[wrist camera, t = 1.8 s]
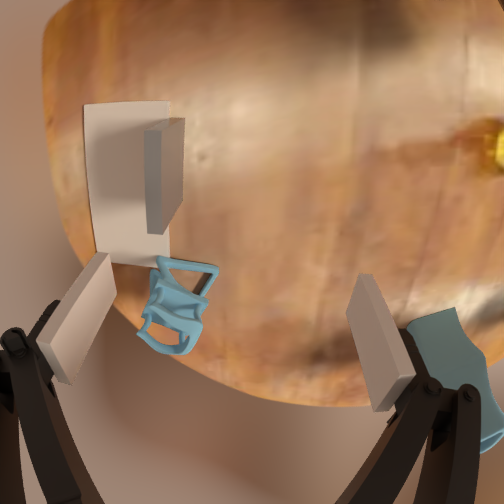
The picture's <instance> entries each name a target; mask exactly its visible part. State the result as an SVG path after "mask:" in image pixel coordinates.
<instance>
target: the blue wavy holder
mask: <svg viewBox="0 0 504 504" xmlns="http://www.w3.org/2000/svg"><path fill="white" fill-rule="evenodd" d="M407 331H408V332H409V333H410V334H411V335H412V336H413V338H414V340H415V343H416V346H417V347H418V349H419V353H420V354H421V356H422V358H423V361H424V363H425V365H426V368H427V370H428V372H429V375H430V377H433V378H436V379H437V380H438V381H440V383H441V384H442V385H443V387H444V388H449V389H454V390H458V389H459V388H460V386H461V385H463V384H465V383H466V384H471V385H473V386H475V387H476V388H477V389H478V391H479V392H480V396H481V445H480V454H481V453H483V452H485V451H487V450H488V449H490V448H492V447H493V446H494V445H495V444H496V443H497V442H498V441H499V440H500V439H501V438H502V437H503V436H504V413H503V412H502V411H501V409H500V408H499V406H498V404H497V403H496V401H495V399H494V397H493V394H492V391H491V388H490V384H489V380H488V373H487V366H486V358H485V356H484V354H483V352H482V351H480V350H479V349H478V348H477V347H476V346H475V345H474V344H473V343H472V342H471V341H470V339H469V338H468V337H467V336H466V334H465V333H464V331H463V329H462V327H461V325H460V322H459V319H458V316H457V313H456V309H455V307H454V308H451V309H448V310H444V311H441V312H438V313H435V314H431V315H428V316H424V317H421V318H418V319H415V320H413V321H412V322H411V323H410V324H409V325H408V326H407Z"/></svg>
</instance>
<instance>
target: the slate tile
mask: <svg viewBox="0 0 504 504" xmlns="http://www.w3.org/2000/svg"><path fill="white" fill-rule="evenodd" d="M184 132H185V118H170V119H167V120H165V121H163V122H161V123H159V124H156V125H154V126H152V127H150V128H148V129H146V130H144V178H145V204H146V222H147V234H157V235H163V234H164V232H165V230H166V228H167V227H168V225H169V223H170V221H171V220H172V218H173V216H174V214H175V213H176V211H177V209H178V207H179V206H180V204H181V202H182V201H183V159H184Z"/></svg>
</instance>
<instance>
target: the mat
mask: <svg viewBox="0 0 504 504" xmlns="http://www.w3.org/2000/svg"><path fill="white" fill-rule="evenodd" d="M167 119H170V101H129V102H111V103H98V104H87V105H84V133H85V153H86V168H87V179H88V190H89V199H90V207H91V215H92V222H93V229H94V235H95V241H96V247H97V252H103V253H109V255H110V261H111V263H120V264H129V265H137V266H146V267H155V268H158V266H157V264H156V258H157V256H163V257H167V258H170V241H169V225H168V227H167V228H166V230H165V232H164V234H163V235H157V234H147V222H146V204H145V178H144V130H146V129H148V128H150V127H152V126H154V125H156V124H159V123H161V122H163V121H165V120H167ZM168 269H170V268H168Z"/></svg>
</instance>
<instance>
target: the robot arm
mask: <svg viewBox="0 0 504 504" xmlns="http://www.w3.org/2000/svg"><path fill="white" fill-rule="evenodd" d="M498 1H499V3H500V5H501V7H502V9H503V11H504V0H498ZM116 295H117V291H116V286H115V281H114V276H113V271H112V266H111V261H110V255H109V253H103V252H96V254H95V255H94V256H93V258H92V259H91V260H90V262H89V263H88V264H87V266H86V267H85V268H84V270H83V271H82V272H81V274H80V275H79V276H78V278H77V279H76V281H75V282H74V283H73V285H72V286H71V287H70V289H69V290H68V292H67V293H66V295H65V296H64V297H63V299H62V300H61V301H60V300H55V301H53V302H52V303H51V304H50V305H48V306H47V308H46V309H45V311H44V312H43V315H41V317H40V318H39V321H37V323H36V324H35V326H34V327H33V329H32V330H31V332H30V333H29V335H28V336H27V337H26V335H25V333H24V331H23V330H22V329H21V328H17V327H14V328H10V329H8V330H7V331H5V332H4V333H3V335H2V336H1V338H0V344H1V346H2V347H3V349H4V350H0V504H26V500H25V493H24V487H23V479H22V471H21V461H20V448H19V423H18V422H19V420H20V424H21V428H22V431H23V435H24V439H25V442H26V446H27V449H28V452H29V455H30V458H31V461H32V464H33V467H34V470H35V473H36V475H37V478H38V481H39V483H40V486H41V489H42V491H43V493H44V496H45V498H46V501H47V504H105V503H104V502H103V500H102V498H101V496H100V494H99V493H98V491H97V489H96V487H95V485H94V483H93V481H92V479H91V477H90V475H89V473H88V471H87V469H86V467H85V465H84V463H83V461H82V458H81V456H80V454H79V452H78V450H77V447H76V445H75V443H74V440H73V438H72V435H71V433H70V430H69V428H68V425H67V423H66V420H65V418H64V415H63V412H62V409H61V406H60V403H59V400H58V398H57V394H56V391H55V388H54V385H53V383H52V381H51V379H52V377H53V375H55V376H56V378H57V380H58V381H59V382H62V383H65V384H68V385H72V384H73V382H74V380H75V378H76V375H77V373H78V371H79V369H80V366H81V364H82V362H83V360H84V358H85V356H86V354H87V352H88V350H89V348H90V345H91V344H92V341H93V339H94V337H95V335H96V333H97V331H98V329H99V327H100V325H101V324H102V322H103V319H104V318H105V316H106V314H107V312H108V310H109V308H110V306H111V304H112V303H113V301H114V299H115V297H116ZM346 315H347V319H348V322H349V325H350V328H351V332H352V335H353V339H354V342H355V345H356V349H357V352H358V356H359V359H360V363H361V367H362V370H363V374H364V378H365V381H366V385H367V389H368V393H369V397H370V401H371V405H372V408H373V412H384V411H389V410H390V409H391V407H392V406H393V405H394V404H395V408H396V412H395V413H394V414H393V415H392V417H391V418H390V419H389V420H388V421H387V423H388V425H387V427H386V428H385V430H384V432H383V434H382V435H381V437H380V439H379V440H378V442H377V443H376V445H375V447H374V448H373V450H372V451H371V453H370V455H369V456H368V458H367V459H366V461H365V462H364V464H363V465H362V467H361V468H360V470H359V471H358V473H357V474H356V475H355V477H354V478H353V480H352V481H351V483H350V484H349V485H348V487H347V488H346V489H345V491H344V492H343V493H342V495H341V496H340V497H339V499H338V500H337V501H336V502H335V504H393V502H394V500H395V499H396V497H397V495H398V494H399V492H400V490H401V488H402V487H403V485H404V483H405V481H406V479H407V478H408V476H409V474H410V472H411V470H412V468H413V466H414V464H415V462H416V460H417V458H418V456H419V454H420V451H421V449H422V447H423V445H424V443H425V440H426V438H427V436H428V438H427V445H426V450H425V456H424V461H423V466H422V470H421V474H420V479H419V483H418V487H417V491H416V495H415V499H414V503H413V504H474V501H475V494H476V487H477V479H478V469H479V458H480V445H481V396H480V392H479V391H478V389H477V388H476V387H475V386H473V385H471V384H466V383H465V384H463V385H461V386H460V388H459V389H458V390H454V389H449V388H444V387H443V385H442V384H441V383H440V381H438V380H437V379H436V378H433V377H430V375H429V372H428V370H427V368H426V365H425V363H424V361H423V358H422V356H421V354H420V353H419V349H418V347H417V346H416V343H415V340H414V338H413V336H412V335H411V334H410V333H409V332H408V331H407V330H406V329H397V327H396V324H395V322H394V320H393V318H392V315H391V313H390V311H389V309H388V307H387V304H386V302H385V300H384V298H383V296H382V294H381V292H380V290H379V288H378V285H377V283H376V281H375V279H374V277H373V275H372V274H360V273H359V275H358V278H357V281H356V284H355V287H354V290H353V293H352V296H351V299H350V302H349V305H348V308H347V311H346Z"/></svg>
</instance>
